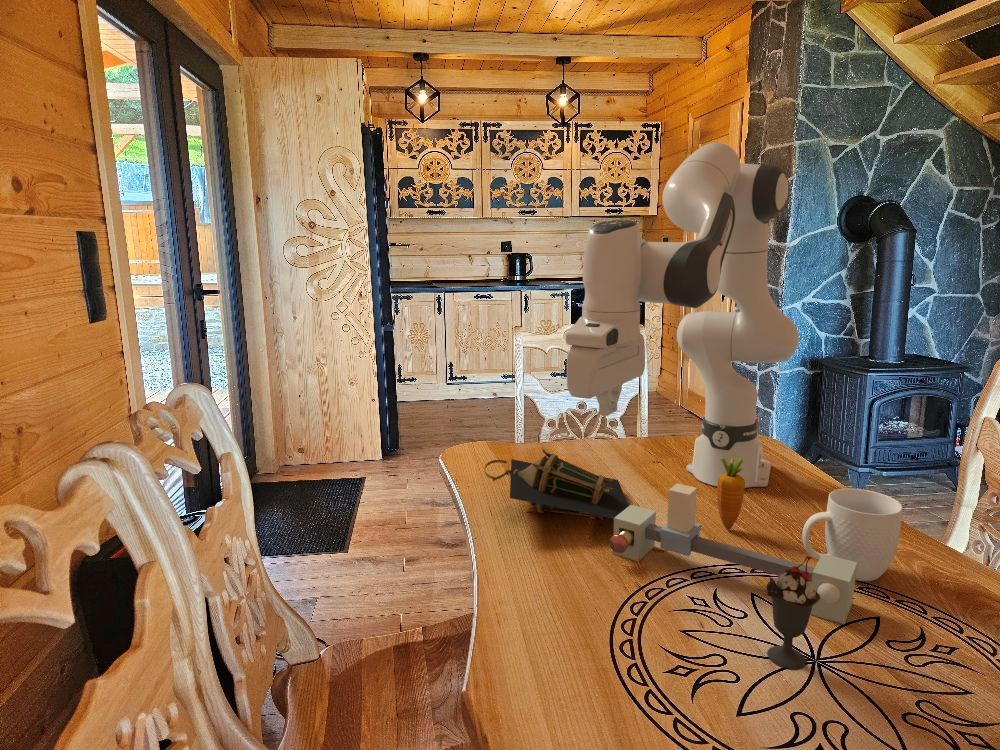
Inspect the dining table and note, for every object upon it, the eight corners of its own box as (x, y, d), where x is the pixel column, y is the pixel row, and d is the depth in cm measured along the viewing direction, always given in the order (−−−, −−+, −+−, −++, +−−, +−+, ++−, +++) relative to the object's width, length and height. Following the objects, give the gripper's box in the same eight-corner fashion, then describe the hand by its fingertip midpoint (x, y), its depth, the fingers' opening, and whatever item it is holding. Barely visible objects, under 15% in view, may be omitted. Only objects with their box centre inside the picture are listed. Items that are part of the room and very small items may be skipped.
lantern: (624, 558, 126) (472, 517, 126) (607, 518, 149) (479, 483, 149) (644, 492, 125) (491, 450, 124) (624, 461, 148) (495, 426, 147)
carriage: (672, 536, 120) (675, 480, 118) (699, 543, 117) (703, 486, 115) (659, 549, 115) (662, 491, 113) (687, 557, 112) (690, 498, 110)
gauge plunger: (632, 529, 124) (633, 514, 124) (648, 534, 123) (649, 518, 122) (609, 550, 117) (609, 533, 116) (625, 555, 115) (626, 538, 114)
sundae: (819, 655, 92) (830, 556, 88) (803, 680, 87) (814, 576, 83) (771, 636, 96) (780, 541, 93) (753, 659, 91) (761, 559, 88)
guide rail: (629, 539, 126) (630, 504, 124) (852, 603, 104) (857, 562, 103) (611, 555, 120) (612, 519, 118) (843, 626, 98) (848, 583, 97)
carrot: (708, 527, 130) (713, 455, 127) (727, 522, 133) (732, 451, 129) (728, 537, 126) (733, 463, 123) (746, 532, 128) (752, 458, 125)
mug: (811, 586, 109) (819, 513, 106) (788, 554, 120) (795, 486, 117) (906, 590, 108) (916, 515, 105) (875, 557, 118) (883, 488, 115)
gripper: (621, 318, 113) (619, 396, 116) (559, 334, 97) (558, 425, 100) (656, 321, 109) (653, 402, 112) (598, 338, 93) (596, 432, 96)
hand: (608, 413), depth 106 cm, fingers closed
